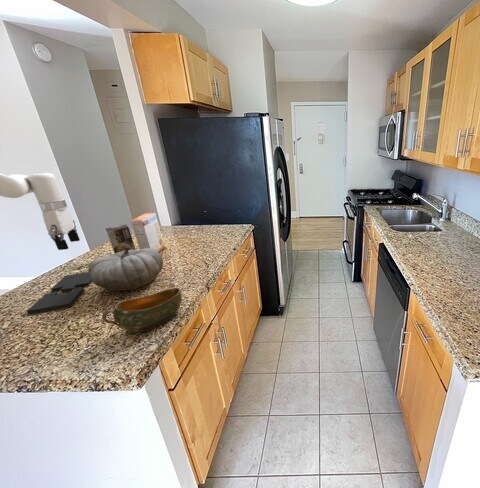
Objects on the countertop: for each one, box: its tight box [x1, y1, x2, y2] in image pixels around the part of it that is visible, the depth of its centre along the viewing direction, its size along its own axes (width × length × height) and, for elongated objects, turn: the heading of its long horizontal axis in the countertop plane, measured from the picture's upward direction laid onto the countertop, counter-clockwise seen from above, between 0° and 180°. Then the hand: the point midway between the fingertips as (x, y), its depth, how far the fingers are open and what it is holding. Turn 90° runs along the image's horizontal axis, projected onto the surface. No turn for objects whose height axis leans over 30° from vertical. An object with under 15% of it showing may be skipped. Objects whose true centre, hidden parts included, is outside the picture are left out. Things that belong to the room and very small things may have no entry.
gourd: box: [87, 247, 164, 291], centre depth 109 cm, size 25×25×17 cm
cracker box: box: [130, 212, 166, 253], centre depth 139 cm, size 14×6×21 cm, turn 6°
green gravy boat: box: [101, 287, 182, 334], centre depth 87 cm, size 13×20×10 cm, turn 111°
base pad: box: [26, 287, 85, 315], centre depth 100 cm, size 12×12×2 cm
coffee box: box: [105, 224, 137, 254], centre depth 136 cm, size 9×6×16 cm
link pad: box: [50, 271, 93, 294], centre depth 113 cm, size 12×14×2 cm
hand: (69, 245), depth 110 cm, fingers open, 9 cm apart
